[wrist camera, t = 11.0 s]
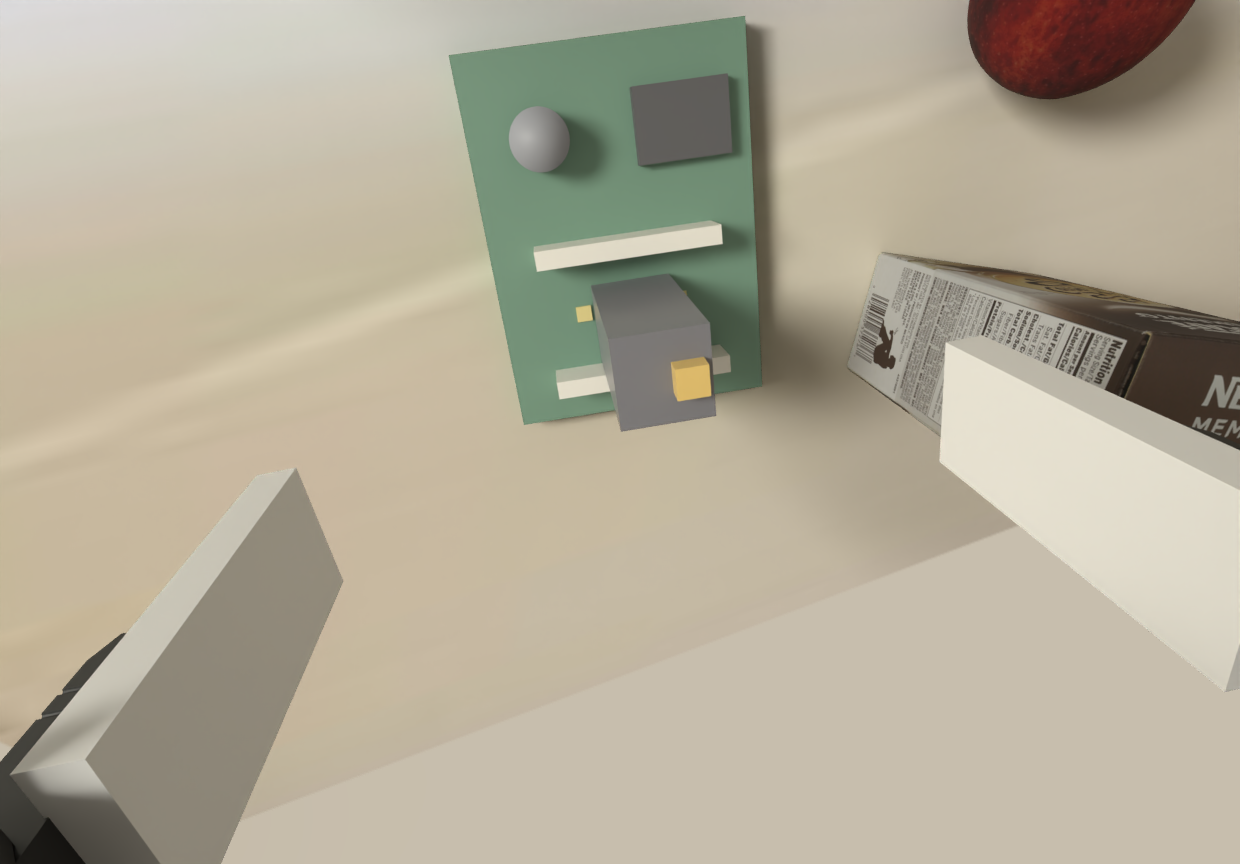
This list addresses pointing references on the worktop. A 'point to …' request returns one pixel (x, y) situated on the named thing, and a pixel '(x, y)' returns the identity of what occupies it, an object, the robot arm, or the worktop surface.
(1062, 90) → the apple
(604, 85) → the board
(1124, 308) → the coffee box
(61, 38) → the worktop surface
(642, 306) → the plug
